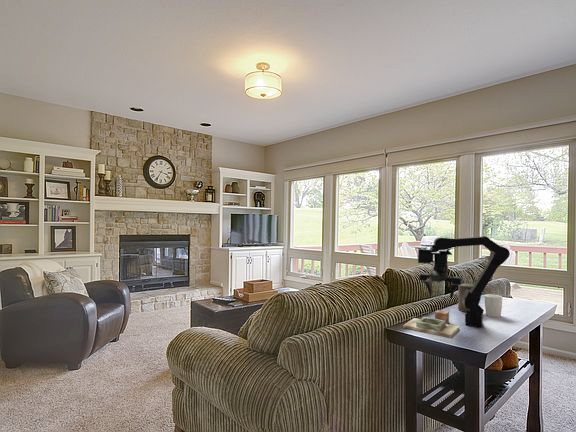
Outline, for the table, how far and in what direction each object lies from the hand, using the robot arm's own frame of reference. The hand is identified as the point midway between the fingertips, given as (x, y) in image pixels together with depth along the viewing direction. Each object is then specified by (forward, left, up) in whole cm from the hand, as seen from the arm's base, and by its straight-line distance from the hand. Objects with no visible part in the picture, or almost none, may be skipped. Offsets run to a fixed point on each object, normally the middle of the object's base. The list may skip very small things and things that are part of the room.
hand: (440, 296), depth 167 cm
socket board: (+1, +13, -12) cm, 17 cm away
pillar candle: (-5, -31, -12) cm, 34 cm away
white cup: (-17, -29, -12) cm, 36 cm away
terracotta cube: (0, 0, -12) cm, 12 cm away
